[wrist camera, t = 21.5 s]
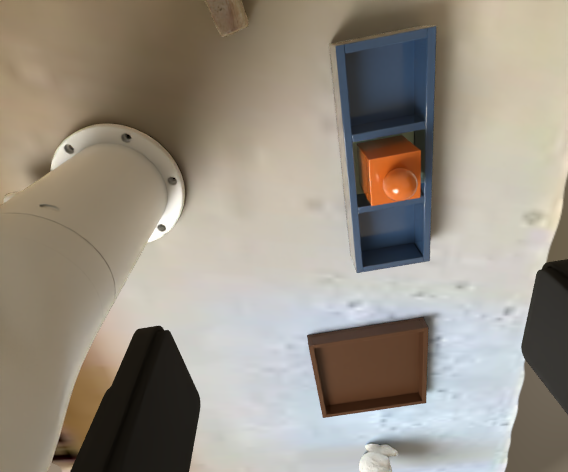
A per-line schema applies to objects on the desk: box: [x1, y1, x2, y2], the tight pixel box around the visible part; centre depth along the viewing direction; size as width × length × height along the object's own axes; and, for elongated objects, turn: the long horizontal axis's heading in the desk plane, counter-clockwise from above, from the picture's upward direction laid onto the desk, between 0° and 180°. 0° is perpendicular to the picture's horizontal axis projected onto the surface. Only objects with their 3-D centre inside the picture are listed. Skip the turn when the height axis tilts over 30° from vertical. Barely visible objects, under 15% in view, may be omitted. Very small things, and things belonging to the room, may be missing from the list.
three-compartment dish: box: [329, 26, 436, 273], centre depth 35 cm, size 8×22×4 cm, turn 10°
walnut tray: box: [307, 317, 428, 418], centre depth 51 cm, size 15×15×2 cm
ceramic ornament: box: [356, 135, 421, 206], centre depth 33 cm, size 4×4×8 cm
